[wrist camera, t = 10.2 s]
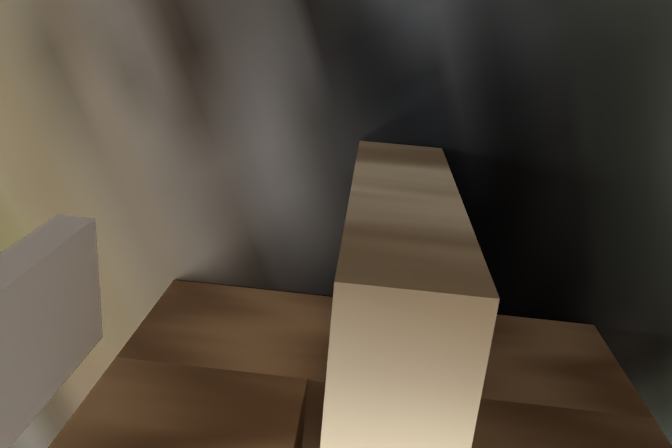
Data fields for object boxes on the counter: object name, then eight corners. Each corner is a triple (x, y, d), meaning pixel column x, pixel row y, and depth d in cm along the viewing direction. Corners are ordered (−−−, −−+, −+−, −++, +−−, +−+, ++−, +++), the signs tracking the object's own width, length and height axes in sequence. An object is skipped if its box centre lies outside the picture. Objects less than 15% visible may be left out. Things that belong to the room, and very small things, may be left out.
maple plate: (359, 140, 19) (334, 281, 9) (441, 148, 19) (499, 298, 9) (327, 479, 23) (289, 803, 14) (394, 487, 23) (400, 818, 14)
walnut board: (594, 324, 20) (773, 604, 11) (577, 389, 21) (730, 699, 12) (173, 279, 21) (1, 509, 11) (174, 344, 22) (15, 606, 12)
